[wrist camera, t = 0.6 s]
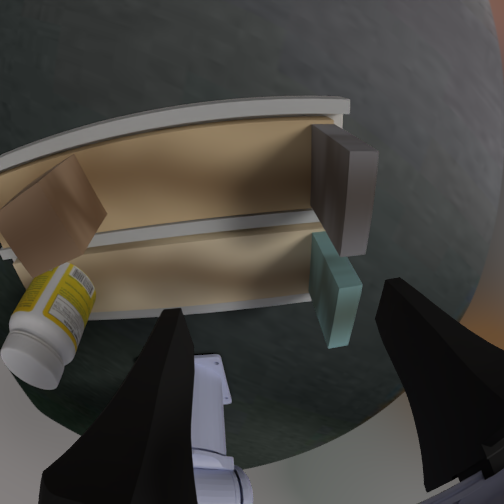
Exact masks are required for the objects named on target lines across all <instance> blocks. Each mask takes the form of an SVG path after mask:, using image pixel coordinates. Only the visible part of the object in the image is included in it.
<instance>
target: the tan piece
mask: <svg viewBox="0 0 504 504" xmlns="http://www.w3.org/2000/svg"><path fill="white" fill-rule="evenodd" d="M68 263H71V264H73V265H75V266H76V267H78V268H79V269H81V270H82V271H83V272H84V273H85V274H86V275H87V276H88V277H89V278H90V280H91V281H92V283H93V285H94V287H95V291H96V300H95V303H94V306H93V308H92V311H91V313H93V312H112V311H129V310H145V309H158V308H171V307H184V306H195V305H206V304H217V303H227V302H236V301H246V300H255V299H264V298H272V297H280V296H289V295H296V294H304V293H309V294H310V297H311V300H312V303H313V306H314V308H315V311H316V314H317V317H318V320H319V323H320V326H321V329H322V332H323V335H324V338H325V341H326V344H327V347H328V349H329V348H334V347H340V346H345V345H348V343H349V339H350V335H351V331H352V328H353V324H354V320H355V316H356V312H357V308H358V303H359V299H360V295H361V290H362V286H363V285H362V283H361V281H360V279H359V277H358V276H357V274H356V272H355V270H354V269H353V267H352V265H351V263H350V261H349V260H348V258H347V257H340V256H339V254H338V253H337V251H336V249H335V247H334V245H333V244H332V242H331V240H330V238H329V237H328V235H327V233H326V231H325V230H324V228H323V226H322V224H321V223H320V222H312V223H301V224H290V225H279V226H269V227H259V228H249V229H239V230H230V231H221V232H211V233H202V234H193V235H185V236H176V237H167V238H159V239H151V240H143V241H134V242H127V243H119V244H111V245H103V246H96V247H88V248H87V249H86V250H85V252H84V254H83V255H81V256H79V257H77V258H75V259H73V260H70V261H68ZM13 266H14V268H15V270H16V272H17V274H18V275H19V277H20V279H21V281H22V283H23V285H24V287H25V288H26V290H27V288H28V287H29V285H30V284H31V282H32V280H33V279H34V278H32V277H31V275H30V274H29V273H28V271H27V270H26V269H25V267H24V266H23V265H22V263H21V262H20V261H19V259H18V258H17V259H16V260H15V262H14V263H13Z"/></svg>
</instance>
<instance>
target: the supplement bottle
mask: <svg viewBox="0 0 504 504" xmlns="http://www.w3.org/2000/svg"><path fill="white" fill-rule="evenodd" d="M95 300H96V291H95V287H94V285H93V283H92V281H91V280H90V278H89V277H88V276H87V275H86V274H85V273H84V272H83V271H82V270H81V269H79V268H78V267H76V266H75V265H73V264H71V263H68V262H66V263H64V264H62V265H60V266H57V267H55V268H53V269H51V270H49V271H47V272H45V273H43V274H41V275H39V276H37V277H34V279H33V280H32V282H31V284H30V285H29V287H28V288H27V290H26V292H25V293H24V295H23V297H22V298H21V300H20V302H19V303H18V305H17V307H16V308H15V310H14V312H13V314H12V316H11V318H10V322H9V329H10V333H9V334H8V336H7V338H6V340H5V342H4V344H3V347H2V349H1V352H0V354H1V358H2V360H3V362H4V364H5V365H6V366H7V368H8V369H9V370H10V371H11V372H13V373H14V374H15V375H16V376H17V377H19V378H20V379H22V380H23V381H25V382H27V383H28V384H30V385H33V386H35V387H38V388H41V389H45V390H53V389H55V388H56V387H57V386H58V384H59V381H60V379H61V376H62V374H63V370H64V365H67V364H68V363H70V362H71V361H72V359H73V358H74V356H75V353H76V350H77V347H78V345H79V342H80V339H81V336H82V334H83V331H84V328H85V326H86V323H87V321H88V318H89V315H90V313H91V311H92V308H93V306H94V303H95Z"/></svg>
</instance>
